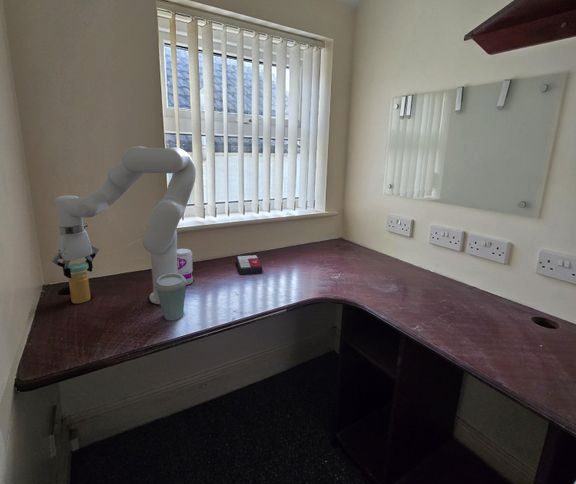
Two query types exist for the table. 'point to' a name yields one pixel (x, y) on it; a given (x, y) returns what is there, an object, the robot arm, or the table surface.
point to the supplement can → (185, 264)
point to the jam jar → (79, 287)
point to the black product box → (249, 264)
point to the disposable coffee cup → (171, 294)
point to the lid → (78, 267)
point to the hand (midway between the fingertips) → (79, 273)
